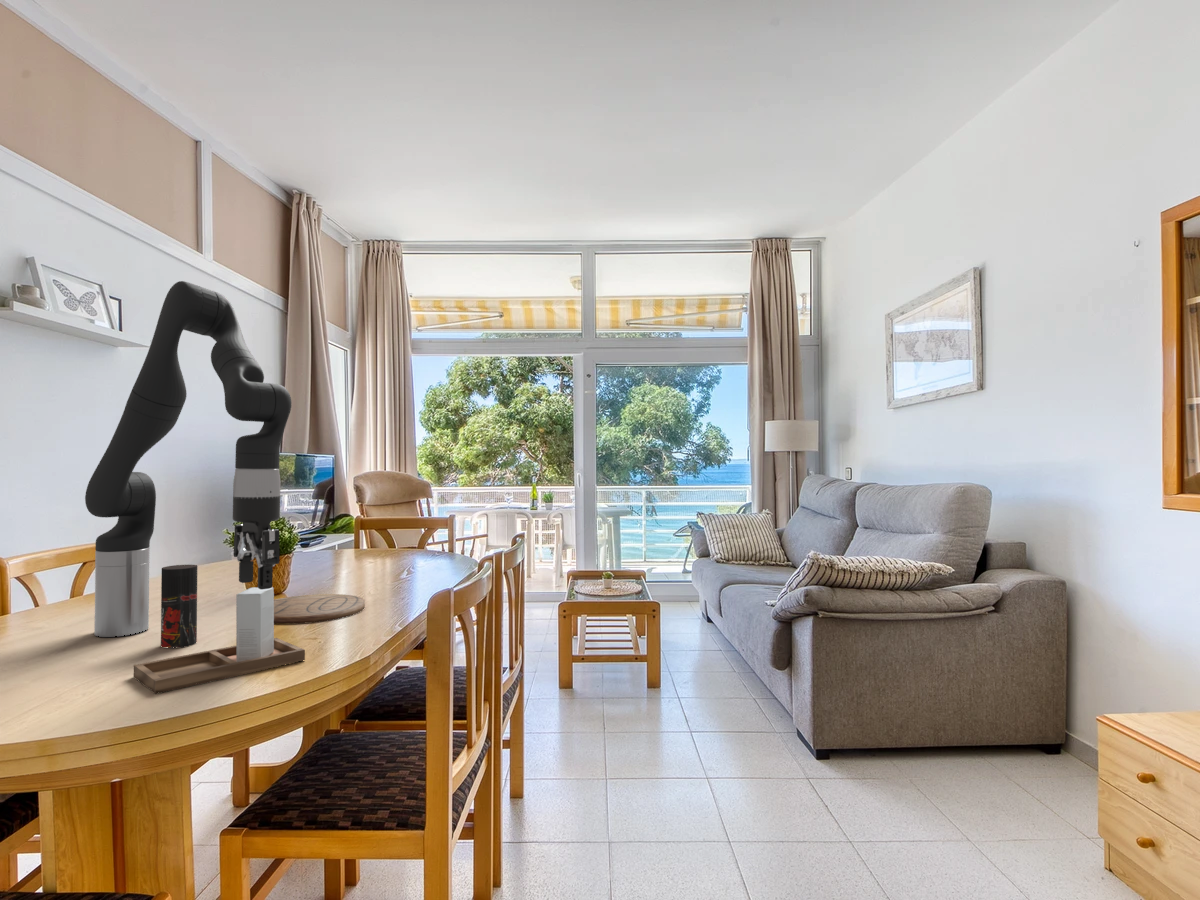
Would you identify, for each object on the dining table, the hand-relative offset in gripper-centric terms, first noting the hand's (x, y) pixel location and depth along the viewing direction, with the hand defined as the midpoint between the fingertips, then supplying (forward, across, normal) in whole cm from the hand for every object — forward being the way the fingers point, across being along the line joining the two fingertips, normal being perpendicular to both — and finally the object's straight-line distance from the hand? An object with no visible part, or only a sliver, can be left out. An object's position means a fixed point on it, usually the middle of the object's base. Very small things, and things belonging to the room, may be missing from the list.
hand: (255, 585), depth 120 cm
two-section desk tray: (+14, 0, +5) cm, 15 cm away
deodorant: (+14, +23, +5) cm, 27 cm away
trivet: (+14, +33, -25) cm, 44 cm away
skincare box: (+13, 0, 0) cm, 13 cm away
